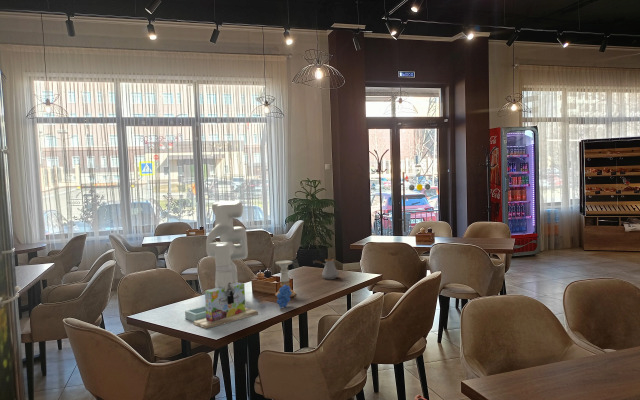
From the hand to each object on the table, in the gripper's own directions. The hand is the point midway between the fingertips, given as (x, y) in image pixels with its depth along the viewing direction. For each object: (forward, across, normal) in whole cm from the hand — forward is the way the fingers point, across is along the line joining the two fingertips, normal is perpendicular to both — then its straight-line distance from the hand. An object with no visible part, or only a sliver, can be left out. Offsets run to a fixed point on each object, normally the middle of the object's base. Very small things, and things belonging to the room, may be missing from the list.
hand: (225, 301), depth 233 cm
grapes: (+9, +6, +32) cm, 34 cm away
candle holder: (+9, -13, +49) cm, 51 cm away
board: (+9, 0, 0) cm, 9 cm away
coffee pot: (+9, -24, +93) cm, 96 cm away
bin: (+9, -13, 0) cm, 15 cm away
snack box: (+7, 0, 0) cm, 7 cm away
